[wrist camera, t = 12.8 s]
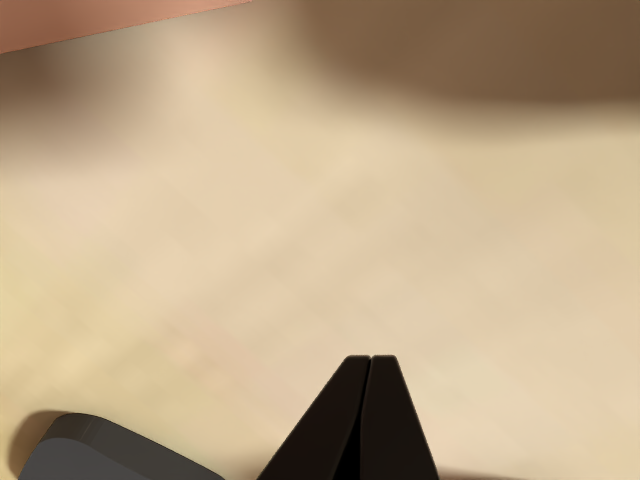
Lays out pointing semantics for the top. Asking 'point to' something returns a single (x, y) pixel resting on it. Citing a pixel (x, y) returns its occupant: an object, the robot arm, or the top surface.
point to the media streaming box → (105, 454)
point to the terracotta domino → (85, 17)
